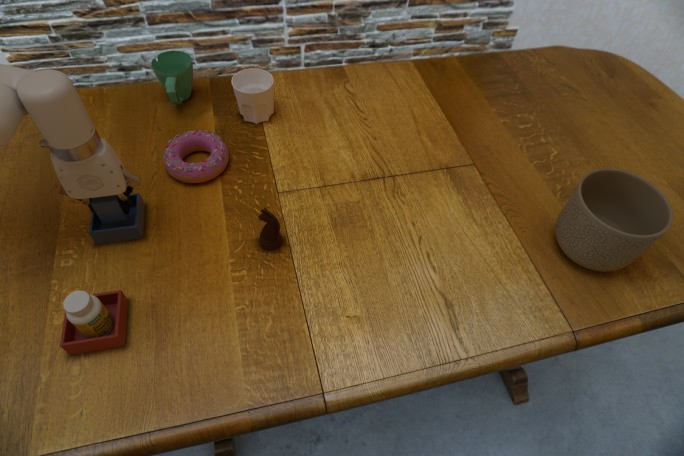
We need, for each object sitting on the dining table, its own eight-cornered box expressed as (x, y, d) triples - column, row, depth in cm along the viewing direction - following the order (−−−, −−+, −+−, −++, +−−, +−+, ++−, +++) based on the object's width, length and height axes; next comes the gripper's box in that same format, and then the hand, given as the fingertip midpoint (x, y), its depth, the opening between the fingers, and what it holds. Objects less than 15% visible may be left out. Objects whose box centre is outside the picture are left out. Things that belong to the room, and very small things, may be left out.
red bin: (70, 355, 79) (59, 346, 75) (76, 308, 84) (67, 298, 81) (125, 345, 80) (117, 336, 77) (128, 300, 85) (121, 289, 82)
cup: (247, 97, 122) (242, 64, 114) (282, 106, 121) (280, 73, 113) (230, 120, 116) (224, 87, 108) (267, 130, 115) (263, 97, 107)
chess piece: (268, 229, 96) (264, 198, 88) (288, 240, 95) (285, 209, 87) (254, 244, 94) (249, 213, 86) (274, 255, 93) (270, 225, 85)
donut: (238, 175, 105) (235, 159, 101) (176, 195, 101) (170, 179, 97) (218, 136, 113) (215, 120, 109) (160, 153, 108) (154, 137, 104)
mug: (163, 84, 124) (152, 51, 116) (200, 82, 125) (192, 49, 117) (159, 120, 115) (147, 87, 107) (199, 118, 116) (190, 84, 108)
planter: (551, 275, 93) (587, 230, 80) (541, 211, 103) (571, 162, 90) (637, 287, 92) (686, 243, 80) (618, 221, 102) (659, 173, 90)
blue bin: (96, 244, 92) (88, 233, 89) (100, 210, 97) (93, 198, 94) (143, 238, 94) (137, 226, 90) (145, 204, 99) (139, 192, 96)
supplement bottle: (94, 309, 83) (72, 282, 76) (121, 317, 83) (101, 290, 75) (76, 336, 80) (51, 310, 73) (103, 344, 80) (81, 320, 72)
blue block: (102, 223, 91) (90, 203, 86) (104, 205, 94) (92, 185, 89) (126, 220, 92) (116, 200, 87) (128, 202, 94) (118, 182, 90)
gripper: (16, 164, 74) (66, 231, 88) (127, 152, 77) (157, 219, 91) (25, 132, 78) (71, 201, 93) (129, 122, 81) (158, 191, 95)
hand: (113, 209), depth 92 cm, fingers closed on blue block, 4 cm apart
